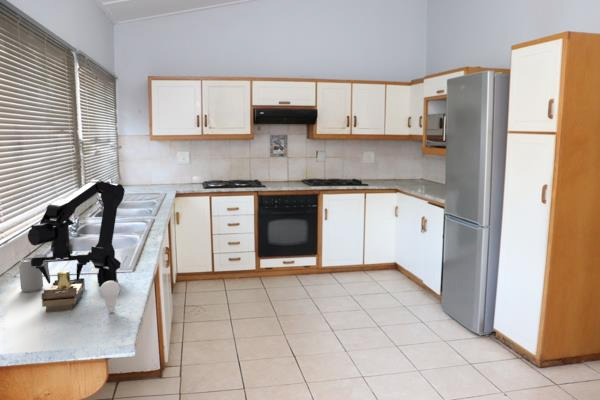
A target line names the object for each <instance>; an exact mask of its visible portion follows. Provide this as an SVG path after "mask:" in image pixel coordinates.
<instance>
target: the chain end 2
mask: <svg viewBox="0 0 600 400" xmlns="http://www.w3.org/2000/svg"><path fill="white" fill-rule="evenodd" d="M70 283H71V284H82V290H81V292H80V295H79V297H78V299H77V301H76V303H75V305H77V304H79V303H80V301H81V299H82V296H83V294H84V292H85V289H86V286H85V285H86V284H85V283H86V282H85V278H84V277H82V278H80V277H79V281H77V278H70ZM56 285H58V279H57V280H54V282H52V286H56Z"/></svg>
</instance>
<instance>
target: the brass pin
mask: <svg viewBox="0 0 600 400" xmlns="http://www.w3.org/2000/svg"><path fill="white" fill-rule="evenodd" d="M70 279H71V272H70V271H68V270H64V271H62V270H61V271H59V272H57V280H58V289H64V288H71V283H70Z"/></svg>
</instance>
